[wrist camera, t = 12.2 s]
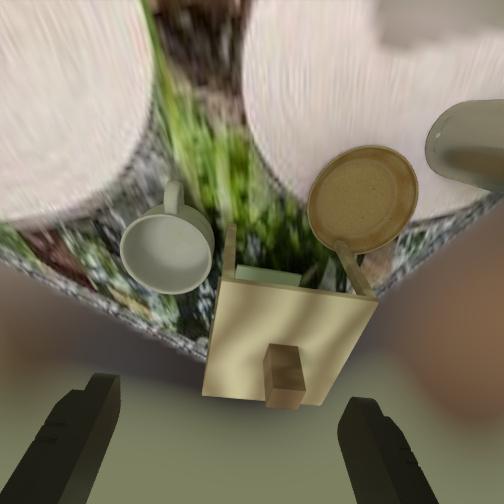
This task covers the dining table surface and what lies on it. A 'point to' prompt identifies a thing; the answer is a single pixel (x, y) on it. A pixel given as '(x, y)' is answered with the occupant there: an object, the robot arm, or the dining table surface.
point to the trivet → (267, 275)
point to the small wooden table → (282, 335)
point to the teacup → (169, 245)
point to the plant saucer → (363, 199)
